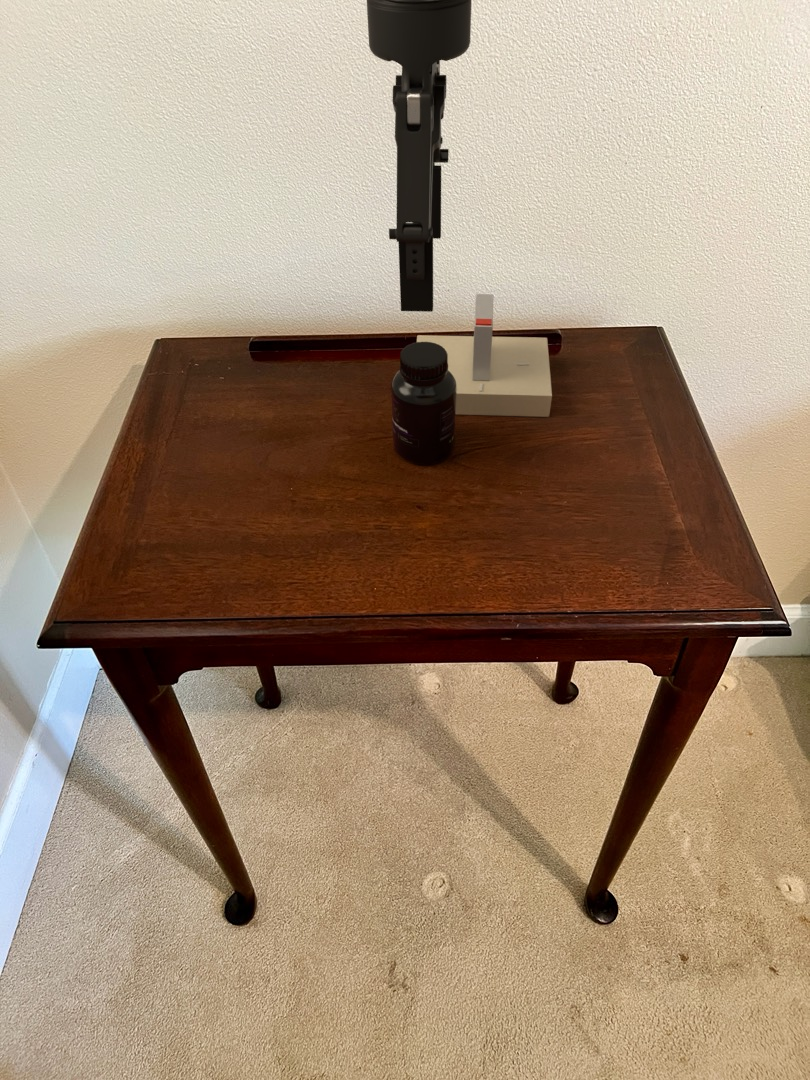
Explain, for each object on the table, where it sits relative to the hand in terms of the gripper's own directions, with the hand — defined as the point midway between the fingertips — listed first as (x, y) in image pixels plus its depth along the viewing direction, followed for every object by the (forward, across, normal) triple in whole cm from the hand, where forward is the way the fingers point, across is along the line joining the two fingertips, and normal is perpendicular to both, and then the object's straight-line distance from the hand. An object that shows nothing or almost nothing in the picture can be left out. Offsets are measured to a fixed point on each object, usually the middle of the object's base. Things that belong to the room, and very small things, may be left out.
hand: (422, 271), depth 69 cm
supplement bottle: (+21, 0, 0) cm, 21 cm away
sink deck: (+21, -12, +6) cm, 25 cm away
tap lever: (+18, -12, +6) cm, 22 cm away
